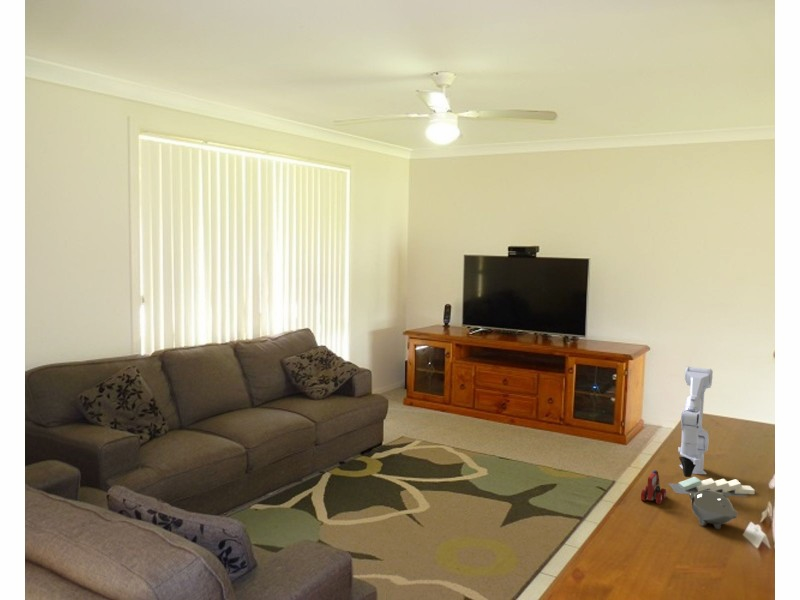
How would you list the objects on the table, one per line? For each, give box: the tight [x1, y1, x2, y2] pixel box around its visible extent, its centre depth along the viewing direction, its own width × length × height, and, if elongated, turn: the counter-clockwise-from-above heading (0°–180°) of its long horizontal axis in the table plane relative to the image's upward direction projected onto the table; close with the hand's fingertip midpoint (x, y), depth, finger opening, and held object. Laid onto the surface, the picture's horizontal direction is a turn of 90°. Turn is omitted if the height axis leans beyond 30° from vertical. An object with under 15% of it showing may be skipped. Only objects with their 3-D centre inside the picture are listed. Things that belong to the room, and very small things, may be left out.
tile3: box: [709, 478, 729, 491], centre depth 249 cm, size 2×4×7 cm
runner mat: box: [667, 482, 749, 498], centre depth 249 cm, size 10×26×1 cm, turn 84°
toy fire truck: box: [640, 469, 667, 505], centre depth 240 cm, size 7×12×10 cm, turn 144°
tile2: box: [695, 477, 716, 491], centre depth 249 cm, size 2×4×7 cm
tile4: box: [720, 479, 742, 492], centre depth 248 cm, size 2×4×7 cm
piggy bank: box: [688, 490, 738, 530], centre depth 220 cm, size 11×15×12 cm
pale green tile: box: [678, 476, 702, 491], centre depth 250 cm, size 2×4×7 cm
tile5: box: [732, 484, 756, 495], centre depth 248 cm, size 2×4×7 cm
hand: (687, 476), depth 249 cm, fingers closed
